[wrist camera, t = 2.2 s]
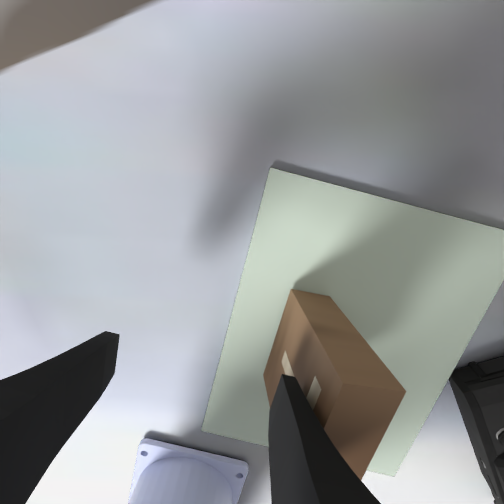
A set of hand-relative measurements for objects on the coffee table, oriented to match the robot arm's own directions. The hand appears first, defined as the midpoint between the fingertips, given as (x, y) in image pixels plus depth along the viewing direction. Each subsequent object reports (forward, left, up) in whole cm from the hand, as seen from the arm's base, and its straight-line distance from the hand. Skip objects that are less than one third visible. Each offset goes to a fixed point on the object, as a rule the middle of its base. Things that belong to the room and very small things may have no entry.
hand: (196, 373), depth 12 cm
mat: (0, -8, -5) cm, 10 cm away
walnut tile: (0, -5, -5) cm, 7 cm away
